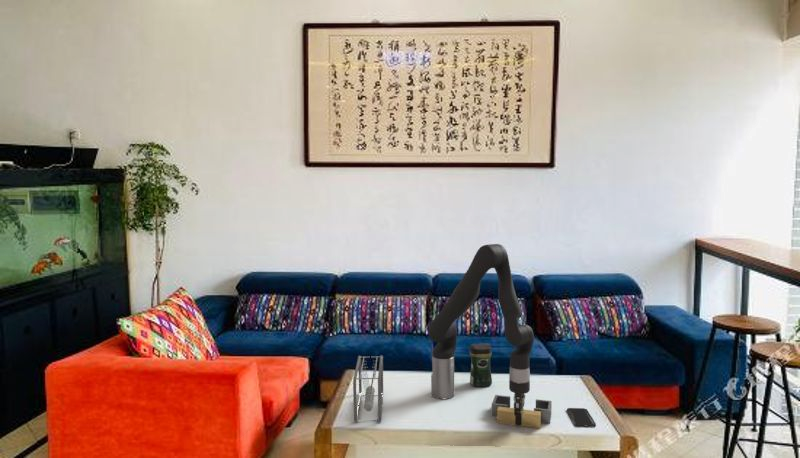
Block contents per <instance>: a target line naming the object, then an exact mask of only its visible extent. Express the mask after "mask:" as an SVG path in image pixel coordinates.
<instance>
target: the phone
mask: <svg viewBox="0 0 800 458" xmlns="http://www.w3.org/2000/svg"><path fill="white" fill-rule="evenodd" d="M566 412H567V414H568V416H569V418H570V419H571V422H572V423H573V426H575V427H577V428H595V427H597V423H596V422H595V420H594V419H593V417H592V416H591V414H590V411H588V409H587V408H585V407H584V408H583V407H581V408H580V407H579V408H578V407H575V408H574V407H567V409H566Z"/></svg>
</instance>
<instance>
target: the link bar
mask: <svg viewBox="0 0 800 458" xmlns="http://www.w3.org/2000/svg"><path fill="white" fill-rule="evenodd" d="M496 423H497V424H504V425H511V426H519V427H524V428H525V427H527V428H532V429H533V428H535V429H541V428H542V427H541V426H542V422H541V412H540V411H534V410H530V409H523V410H522V424H521V425H516V424H515V416H514V407H510V408H507V407H499V406H498V409H497V417H496Z"/></svg>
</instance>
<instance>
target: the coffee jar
mask: <svg viewBox="0 0 800 458" xmlns="http://www.w3.org/2000/svg"><path fill="white" fill-rule="evenodd" d="M469 346H470V347H469V348H470V349H469V355H470V357H471V358H470V359H471V362H470V363H471V364H470V366H471V367H470V375H469V383H470V385H471V386H473V387H476V388H477V387H478V388H479V387H480V388H481V387H482V388H483V387H490V386H492V384H493V378H492V370H491V369H492V368H491V358H492V357H491V356H492V355H493V354H492V346H491V345H490V343H489V342H485V343H471V344H470V345H469Z"/></svg>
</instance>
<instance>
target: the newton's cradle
mask: <svg viewBox="0 0 800 458" xmlns="http://www.w3.org/2000/svg"><path fill="white" fill-rule="evenodd" d="M365 358H366V359H367V358H369V356H361V355H358V356H357V359H356V360H357V361H356V365H355V370H354V374H353V380H352V385H353V386H352V391H353V393H352V396H353V398H352V399H353V422H354V421H355V422H356V421H357V420H358V419H357V403H358V401H357V380H358V394H359V393H361V392H363V391H362V388H364V389H365V390H364V392H365V393H364V394H365V395H364V396H365V397H364V403H363V408H364V410H365V411H366V412H370V411H372V410H373V408H374V402H375V401H374V400H375V395H374V394H375V392H376V389H375V387H374V386H373V383H374V380H377V394H378V395H377V401H378V402H377V407H378V409H377V410H378V411H377V412H378V413H377V414H378V419H377V420H379V421H378V423H381V422H382V419H383V407H382V405H383V404H384V356H383V355H380V356H373V355H372V358H375V359H376V360H374V364H375V365H374V366H373V370H367V369H366V368H367V366H366V363H365ZM378 358H379V362H378ZM377 363H379V364H377ZM377 365H378V373H377ZM368 371H369V372H373V373H372V377H368V373H367V372H368ZM376 374H378V376H377V377H376ZM357 376H358V377H357ZM369 380H371V383H370V381H369ZM362 382H363V385H364V386H363V385H362ZM362 386H363V387H362ZM381 393H383V394H381ZM382 395H383V397H382ZM358 406H359V405H358ZM355 422H354V423H355ZM357 422H358V421H357ZM357 422H356V423H357Z"/></svg>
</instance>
